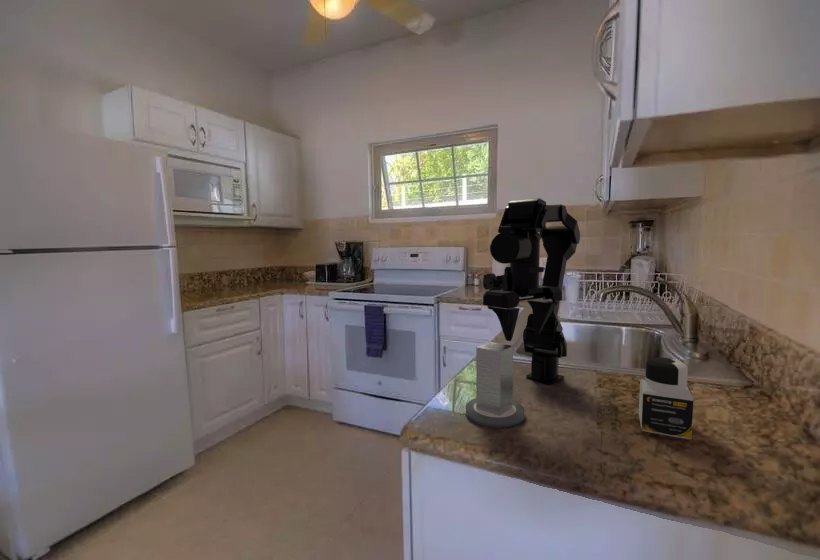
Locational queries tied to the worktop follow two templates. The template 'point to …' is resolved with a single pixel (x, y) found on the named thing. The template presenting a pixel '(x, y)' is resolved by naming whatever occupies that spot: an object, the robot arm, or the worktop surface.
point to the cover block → (494, 378)
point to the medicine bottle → (666, 399)
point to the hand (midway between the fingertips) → (523, 337)
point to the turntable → (495, 416)
